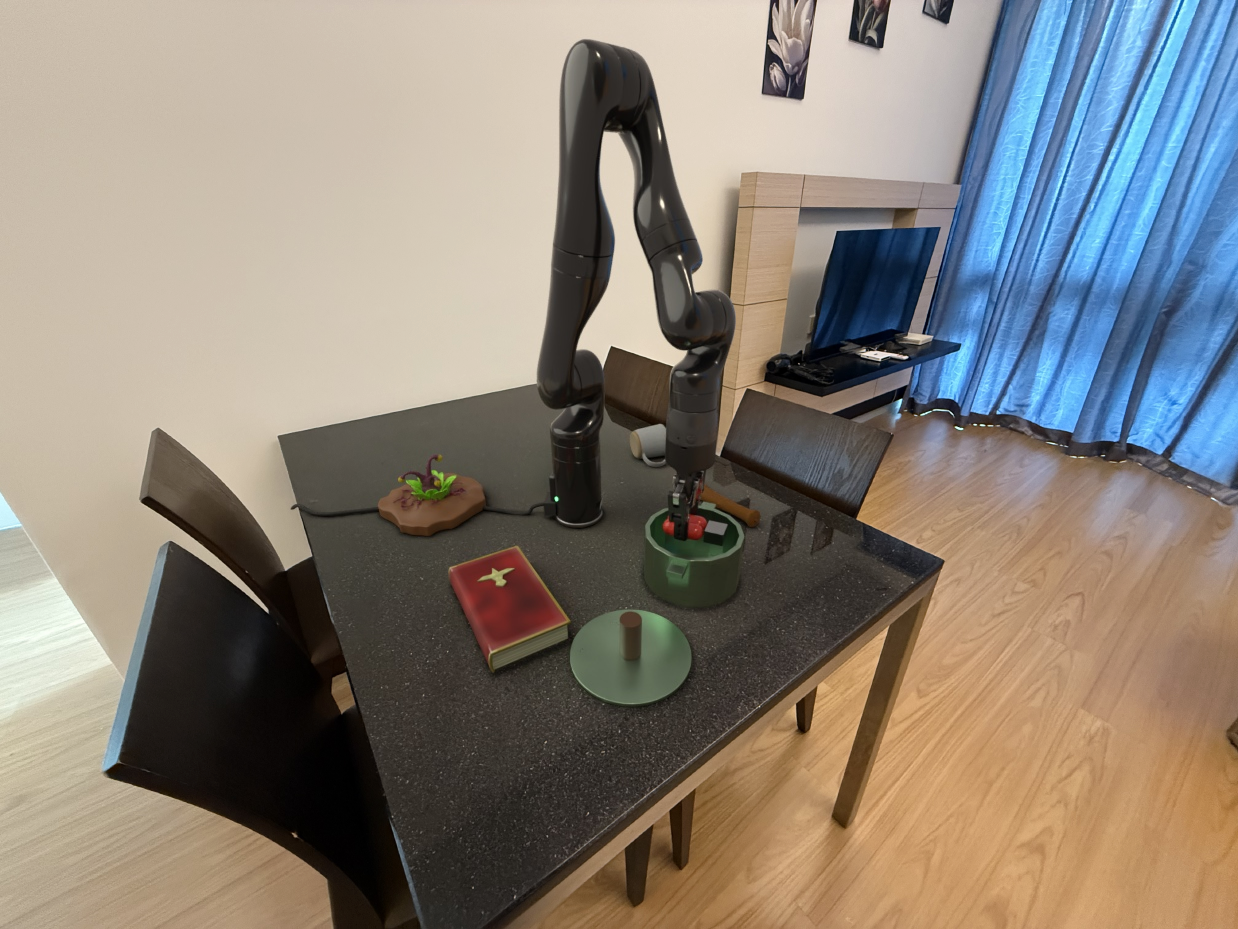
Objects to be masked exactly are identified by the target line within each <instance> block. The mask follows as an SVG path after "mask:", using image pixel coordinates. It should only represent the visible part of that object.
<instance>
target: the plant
mask: <svg viewBox="0 0 1238 929" xmlns="http://www.w3.org/2000/svg"><path fill="white" fill-rule="evenodd" d="M443 459H444V457H443V456H442V455H441V454H438V453H436V454H433V455H430V457H429V459H428V460H427V463H426V467H425V472H426V473H425V474H422V473H421V472H420V471H415V470H410V471H409V470H408V471H407V472H405V473H403V474H401V475H400V476H399V477H398V479H397V480H398V483H400V484H403V483H404V482H406V483H404V484H403V485H402V486H400V487H397V488H392V489H391V490H390V492H389V494H388V495H386V496H384V497H381V498H379V500H378V503H377V507H378V509H379V510H378V513H379V515H380V517H381V518H383V519H384V520H386V521H388V522H391V523H393V524H394V526H396V527H397V528H398V529H399V531H400V532H401V533H402V534H408V535H412V536H425V537H431V536H432V535H434V534H435V533H437V532H440V531H445V530H452V529H455V528H457V527H458V526H460V525H461V524H463V523H464V522H466V521H468V520H469V519H470V518H472V517H473V516H475V515H477V514H479V513H480V512H482V511H483V510H484V509H483V506H487V502H486V501H487V500H486V497H485V489H484V487H483V485H482V484H481V483H480V482H478V481H477V480H475V479H474V478H473V477H468V476H462V475H460V474H457V473H454V472H446V473H444V472H443V471H440V472H438V471H437V470H435V469H433V470H432V461H433V460H434V461H435V462H437V463H439V462H442V461H443ZM408 475H414V476H415V477H416V478H417V480H416V479H406V476H408Z"/></svg>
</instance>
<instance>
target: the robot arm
mask: <svg viewBox="0 0 1238 929" xmlns="http://www.w3.org/2000/svg"><path fill="white" fill-rule="evenodd" d="M560 75H561V76H560V82H559V95H558V96H559V98H558V181H557V194H556V208H555V210H556V211H555V222H554V231H553V236H552V237H553V238H552V247H551V258H550V259H551V260H550V277H549V290H548V299H547V305H546V306H547V308H546V316H545V324H544V328H543V334H542V339H541V345H540V348H539V349H540V350H539V354H538V360H537V367H536V388H537V392H538V395H539V398H540V400H541V401H542V403H543V404H544V405H545V406H546V407H547V408H549V409H550V410H555V411H557V410H558V411H559V410H560V411H561V410H562V412H561V413H560V414H559V415H557V417H556V418H554V420H553V421H552V422H551V424H550V427H549V435H550V438H549V439H550V450H551V451H550V452H551V463H552V473H551V474H549V476H548V482H549V485H548V486H549V491H547V492H546V494H545V497H544V500H543V502H537V503H534V504H531V506H530V507H529V509H528V510H526V511H513V510H509V509H504V508H500V507H493V506H487V505H486V506H483V509H484V510H485V511H488V512H489V511H491V512H498V513H503V514H506V515H511V516H527V515H530V514H532V513H533V511H534V509H536V508H539V507H543V514H544V516H550V517H551V519H554V520H556V521H557V522H558V523H559V524H560V525H562V526H564V527H566V528H567V527H568V528H574V529H582V528H587V527H590V526H593V525H595V524H597V523H598V522H600V521H601V520H602V517H603V502H604V496H603V495H602V463H601V429H602V427H603V424H604V419H605V394H606V385H605V384H606V380H605V373H604V369H603V365H602V362H601V361H600V359H599V357H598V356H597V355H596V354H595V352H593V351H592V350H589V349H586V348H584V349H583V348H580V349H579V348H578V345H579V342H580V338H581V336H582V333H583V331H584V329H585V327H586V325H587V324H588V322H589V321H590V319H591V317H592V316H593V314H594V312H595V311H596V309H597V307H598V306H599V304H600V303H601V301H602V299H603V297H604V295H605V293H606V291H607V289H608V286H609V282H610V280H611V275H612V267H613V263H614V262H613V261H614V256H615V255H614V254H615V248H616V234H615V229H614V224H613V220H612V216H611V214H610V211H609V207H608V205H607V201H606V200H605V195H604V192H603V187H602V182H601V158H602V147H603V140H604V133H612V134H613V133H614V134H618V136H619V138H620V139H621V142H622V143H623V145H624V147H625V149H626V151H627V153H628V156H629V158H630V162H631V166H632V171H633V194H632V195H633V196H632V221H633V226H634V230H635V234H636V237H637V239H638V242H639V245H640V247H641V250H642V253H643V256H644V258H645V260H646V263H647V266H648V268H649V270H650V273H651V277H652V278H651V279H652V288H653V289H652V290H653V297H654V303H655V304H654V305H655V311H656V318H657V319H656V320H657V323H658V327H659V329H660V332H661V335H662V336H663V337H664V339H665V340H666V341H667V342H668V343H669V345H670V346H672V347H673V348H675V349H677V350H678V351H683V352H685V351H686V352H685V355H684V357H683V358H682V359H681V360H680V361H678V362H677V363H676V364H674V366H673V367H672V368H671V370H670V374H669V384H668V406H667V412H666V420H665V428H666V443H665V455H664V459H665V461H666V463H665V464H667V465H668V466H669V467H670V468H672V469H673V470H674V471H675V472H676V473H674V474H673V477H672V482H671V483H672V486H673V487H672V490H668V492H667V508H668V513H669V522H674V534H673V537H674V538H675V539H677V540H681V541H686V540H687V538H688V532H689V520H690V514H692V515H697V516H698V506H700V505H699V504H700V503H699V502H700V501H702V500H701V493H703V491H704V484H705V481H706V475H707V474H706V473H707V471H708V470H709V469H711V468H712V467H713V466H714V465H715V464H716V456H717V444H718V433H719V398H720V387H721V377H722V374H723V370H724V368H725V365H726V362H727V359H728V357H729V353H730V350H731V345H732V343H733V340H734V336H735V331H736V324H737V321H736V320H737V319H736V312H735V307H734V304H733V302H732V300H731V299H730V297H729V295H728V294H726V293H725V292H723V291H722V290H719V289H713V288H712V289H705V290H701V291H697V292H696V290H695V287H694V281H693V275H694V274H695V273H697V271H699V269H700V268H701V267H702V264H703V260H704V259H703V253H702V249H701V246H700V244H699V241H698V238H697V235H696V234H695V231H694V228H693V225H692V222H691V220H690V217H689V215H688V212H687V209H686V207H685V203H684V201H683V198H682V195H681V192H680V189H679V186H678V183H677V179H676V176H675V172H674V167H673V162H672V158H671V154H670V149H669V148H670V147H669V144H668V139H667V135H666V131H665V126H664V121H663V117H662V112H661V106H660V101H659V97H658V93H657V89H656V85H655V82H654V78H653V74H652V72H651V70H650V67H649V65H648V63H647V61H646V59H645V58H644V56H642V55H641V54H640V53H639V52H637V51H636V50H633V49H631V48H627V47H625V46H620V45H616V44H613V43H609V42H605V41H601V40H600V41H599V40H596V39H590V38H582V39H580V40H577V41H576V42H575V43H573V45H572V46H571V47H570V49H569V50H568V52H567V54H566V56H565V58H564V62H563V65H562V69H561V74H560ZM299 505H300V506H299ZM297 508H299V509H301V510H303V511H304V512H306V513H308V514H310V515H312V516H317V517H318V516H319V517H330V516H331V517H332V516H333V517H334V516H341V515H350V514H360V513H369V512H376V511H379V509H378V506H373V507H365V508H357V509H347V510H346V509H345V510H339V511H317V510H316V511H314V510H313V509H310V508H309V507H307V506H306V505H304V504H301V503H295V504H293V505H292V506H291V507H290V510H291V511H293V510H296V509H297Z"/></svg>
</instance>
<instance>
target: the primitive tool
mask: <svg viewBox="0 0 1238 929" xmlns="http://www.w3.org/2000/svg"><path fill="white" fill-rule="evenodd" d="M700 501H701V502H708V503H713V504H716V509H718V510H720V511H722V512H724V513H725V512H726V513H727V514H729V515H732V516H734V517H736V518H738V519H739V520H742V521H744V523H746V525H747V526H748V527H750V528H755V527H756V526H757V525H758V524H759V523H760V520H761V511H759V509H751V508H748V507H745V506H744V505H742V504H739V503H737V502H735V501H733V500H732V499H730V498H728V497H726V496H724V495H721V494H720V493H718V492H717V491H715V490H713V489H712V488H710V487H709V486H708V485H707V484H705V483H704V491H703V493H701V500H700Z"/></svg>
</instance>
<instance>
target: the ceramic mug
mask: <svg viewBox="0 0 1238 929" xmlns="http://www.w3.org/2000/svg"><path fill="white" fill-rule="evenodd" d="M665 443H666V426H665V425H664V424H662V423H658V424H654V425H650V426H646V427H642V428H637V429H635V430H633V431H631V433H630V435H629V444H630V450H631V453H632V454H633V456H634V457H635V458H636V459H638V460H641V459H642V460H643V462H645V464H646V465H648V466H650V467H652V468H660V467H663V466H665V465H666V464H667V463H666V461H665V458H664V459H663V460H662V461H659V462H654V461H651V460H650V459H649V458H657V457H663V456H664V457H665Z"/></svg>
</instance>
